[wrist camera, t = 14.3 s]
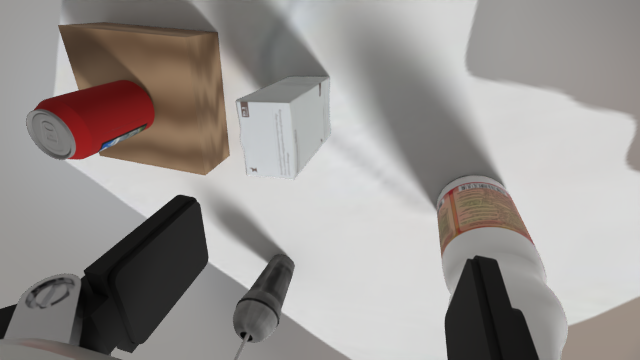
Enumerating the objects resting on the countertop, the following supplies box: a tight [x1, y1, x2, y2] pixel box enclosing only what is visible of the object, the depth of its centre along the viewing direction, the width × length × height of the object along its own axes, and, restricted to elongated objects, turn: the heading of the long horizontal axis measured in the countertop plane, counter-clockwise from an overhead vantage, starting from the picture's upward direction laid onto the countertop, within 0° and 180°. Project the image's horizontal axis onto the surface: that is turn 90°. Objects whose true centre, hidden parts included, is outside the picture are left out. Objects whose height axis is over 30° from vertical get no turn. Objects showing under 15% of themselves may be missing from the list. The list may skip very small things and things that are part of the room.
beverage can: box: [26, 80, 155, 160], centre depth 37 cm, size 7×7×12 cm
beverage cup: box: [233, 255, 295, 360], centre depth 51 cm, size 7×7×20 cm
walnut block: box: [58, 22, 230, 175], centre depth 45 cm, size 18×18×7 cm
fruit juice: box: [437, 175, 568, 360], centre depth 33 cm, size 9×9×28 cm
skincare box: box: [236, 76, 331, 180], centre depth 37 cm, size 8×6×15 cm
